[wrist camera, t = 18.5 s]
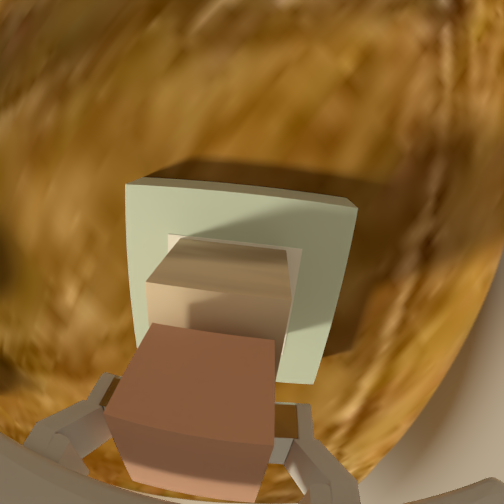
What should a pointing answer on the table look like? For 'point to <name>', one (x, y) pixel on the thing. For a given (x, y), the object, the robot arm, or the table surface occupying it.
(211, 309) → the beech block
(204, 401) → the terracotta block
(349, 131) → the table surface
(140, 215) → the sage base
